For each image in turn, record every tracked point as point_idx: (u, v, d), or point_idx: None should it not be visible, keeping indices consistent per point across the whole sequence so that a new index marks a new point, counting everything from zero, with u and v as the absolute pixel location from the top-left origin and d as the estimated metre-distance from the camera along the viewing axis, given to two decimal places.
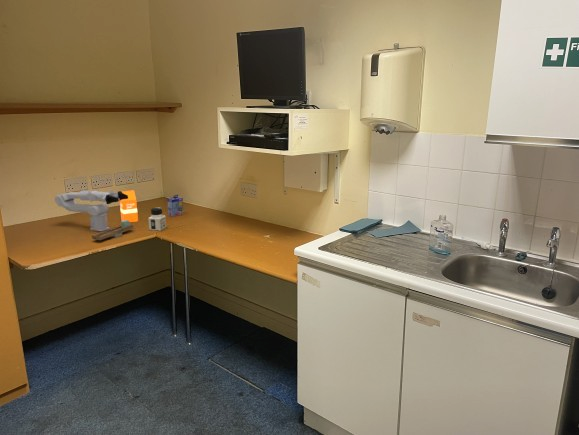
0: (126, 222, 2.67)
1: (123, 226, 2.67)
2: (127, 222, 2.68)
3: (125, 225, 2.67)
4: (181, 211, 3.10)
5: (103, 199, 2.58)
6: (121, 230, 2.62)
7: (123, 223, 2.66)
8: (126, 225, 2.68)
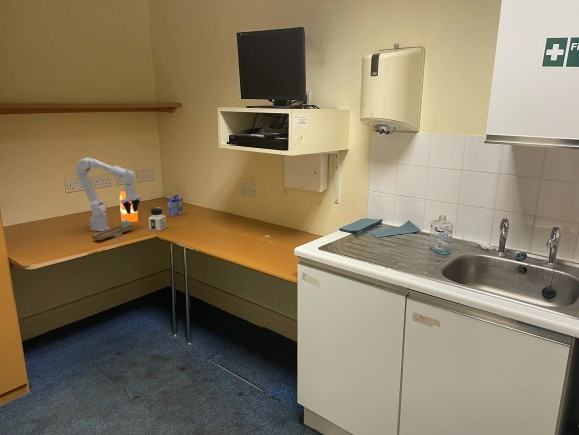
0: (126, 222, 2.67)
1: (123, 226, 2.67)
2: (127, 222, 2.68)
3: (125, 225, 2.67)
4: (181, 211, 3.10)
5: (122, 202, 2.64)
6: (121, 230, 2.62)
7: (123, 223, 2.66)
8: (126, 225, 2.68)
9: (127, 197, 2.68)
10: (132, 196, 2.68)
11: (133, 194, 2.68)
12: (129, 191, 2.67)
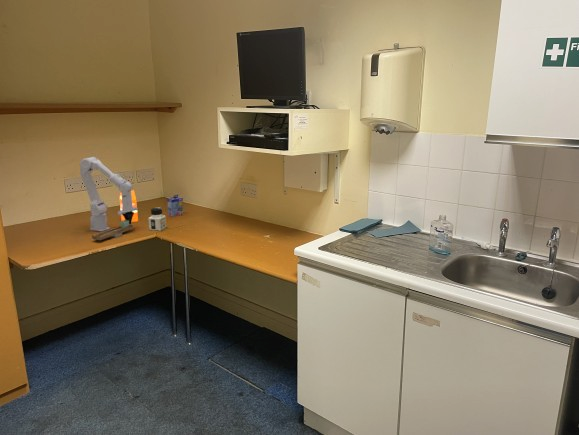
0: (126, 222, 2.67)
1: (123, 226, 2.67)
2: (127, 222, 2.68)
3: (124, 225, 2.66)
4: (181, 211, 3.10)
5: (119, 214, 2.63)
6: (121, 230, 2.62)
7: (123, 223, 2.66)
8: (126, 225, 2.67)
9: (124, 209, 2.67)
10: (129, 208, 2.67)
11: (130, 206, 2.67)
12: (126, 203, 2.65)
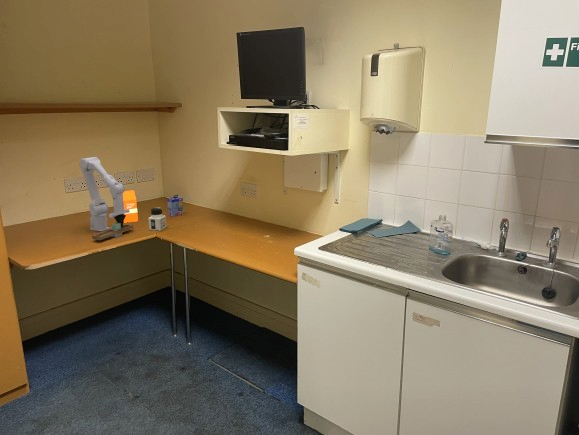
0: (117, 225, 2.61)
1: (114, 229, 2.61)
2: (118, 225, 2.62)
3: (116, 228, 2.60)
4: (181, 211, 3.10)
5: (110, 217, 2.57)
6: (121, 230, 2.62)
7: (114, 226, 2.60)
8: (117, 228, 2.61)
9: (115, 211, 2.60)
10: (121, 210, 2.61)
11: (122, 208, 2.61)
12: (117, 205, 2.59)
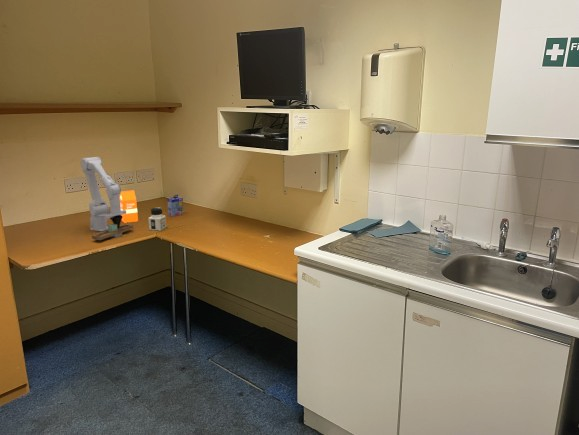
0: (114, 226, 2.59)
1: (111, 230, 2.58)
2: (115, 226, 2.59)
3: (112, 229, 2.58)
4: (181, 211, 3.10)
5: (107, 218, 2.55)
6: (121, 230, 2.62)
7: (110, 227, 2.58)
8: (114, 229, 2.59)
9: (112, 212, 2.58)
10: (117, 211, 2.58)
11: (118, 209, 2.59)
12: (114, 206, 2.57)
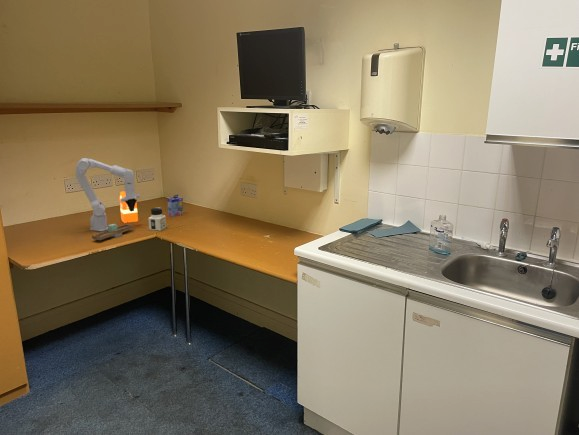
0: (114, 226, 2.59)
1: (110, 230, 2.58)
2: (115, 226, 2.59)
3: (112, 229, 2.58)
4: (181, 211, 3.10)
5: (122, 201, 2.68)
6: (121, 230, 2.62)
7: (110, 227, 2.57)
8: (114, 229, 2.59)
9: (127, 196, 2.72)
10: (132, 195, 2.72)
11: (133, 193, 2.72)
12: (129, 190, 2.71)
